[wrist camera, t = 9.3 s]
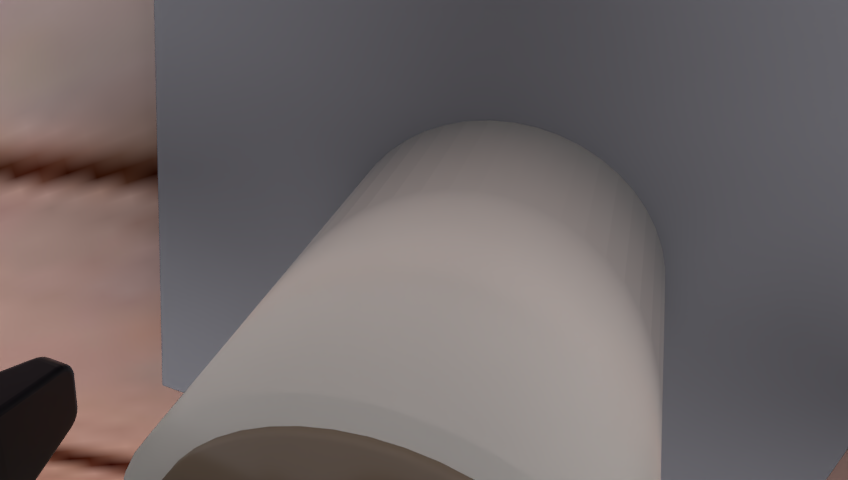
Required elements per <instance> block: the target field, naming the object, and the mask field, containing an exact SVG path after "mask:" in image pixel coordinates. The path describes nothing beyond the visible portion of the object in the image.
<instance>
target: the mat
mask: <svg viewBox="0 0 848 480" xmlns="http://www.w3.org/2000/svg"><path fill="white" fill-rule="evenodd" d="M154 19H155V64H156V110H157V155H158V200H159V246H160V291H161V337H162V382H163V385H164V386H167V387H169V388H172V389H175V390H178V391H181V392H183V393H184V392H185V391H186V390H187V389H188V388H189V386H190V385H191V384H192V383H193V382H194V381H195V379H196V378H197V377H198V376H199V375H200V373H201V372H202V371H203V370H204V369H205V367H206V366H207V365H208V364H209V363H210V361H211V360H212V359H213V358H214V357H215V355H216V354H217V353H218V352H219V351H220V349H221V348H222V347H223V346H224V345H225V344H226V342H227V341H228V340H229V339H230V338H231V336H232V335H233V334H234V333H235V332H236V330H237V329H238V328H239V327H240V326H241V324H242V323H243V322H244V321H245V320H246V318H247V317H248V316H249V315H250V314H251V312H252V311H253V310H254V309H255V308H256V306H257V305H258V304H259V303H260V302H261V301H262V299H263V298H264V297H265V296H266V295H267V293H268V292H269V291H270V290H271V289H272V287H273V286H274V285H275V284H276V283H277V281H278V280H279V279H280V278H281V277H282V275H283V274H284V273H285V272H286V271H287V269H288V268H289V267H290V266H291V265H292V264H293V262H294V261H295V260H296V259H297V258H298V256H299V255H300V254H301V253H302V252H303V250H304V249H305V248H306V247H307V246H308V244H309V243H310V242H311V241H312V240H313V238H314V237H315V236H316V235H317V234H318V232H319V231H320V230H321V229H322V228H323V226H324V225H325V224H326V223H327V222H328V221H329V219H330V218H331V217H332V216H333V215H334V213H335V212H336V211H337V210H338V209H339V207H340V206H341V205H342V204H343V203H344V201H345V200H346V199H347V198H348V197H349V195H350V194H351V193H352V192H353V191H354V189H355V188H356V187H357V186H358V185H359V183H360V182H361V181H362V180H363V179H364V178H365V176H366V175H367V174H368V173H369V172H370V170H371V169H372V168H373V167H374V166H375V164H376V163H377V162H379V161H380V160H381V159H382V158H383V157H384V156H385V155H386V154H387V153H388V152H390V151H391V150H392V149H394V148H395V147H397V146H398V145H400V144H401V143H403V142H404V141H406V140H408V139H410V138H412V137H414V136H416V135H418V134H420V133H422V132H425V131H428V130H431V129H434V128H437V127H440V126H444V125H448V124H454V123H460V122H466V121H486V120H492V121H503V122H514V123H518V124H523V125H528V126H532V127H537V128H540V129H543V130H545V131H548V132H551V133H554V134H557V135H560V136H562V137H564V138H566V139H568V140H570V141H572V142H574V143H576V144H578V145H580V146H582V147H583V148H585V149H586V150H588V151H589V152H591V153H592V154H594V155H596V156H597V157H599V158H600V159H601V160H603V161H604V162H605V163H606V164H607V165H608V166H610V167H611V168H612V169H613V170H614V171H615V172H617V173H618V174H619V175H620V176H621V177H622V178H623V180H624V181H625V182H626V183H627V184H628V185H629V186H630V187H631V189H632V190H633V191H634V192H635V193H636V195H637V196H638V198H639V199H640V201H641V202H642V204H643V205H644V207H645V208H646V210H647V212H648V214H649V216H650V218H651V220H652V222H653V224H654V226H655V228H656V231H657V234H658V237H659V240H660V243H661V247H662V250H663V257H664V264H665V316H664V360H663V404H662V449H661V480H826V479H827V478H828V476H829V475H830V473H831V472H832V470H833V469H834V468H835V466H836V465H837V463H838V462H839V460H840V459H841V458H842V456H843V455H844V453H845V452H846V450H847V449H848V0H154Z"/></svg>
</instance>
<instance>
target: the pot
mask: <svg viewBox="0 0 848 480" xmlns="http://www.w3.org/2000/svg"><path fill="white" fill-rule="evenodd" d="M664 316H665V264H664V257H663V250H662V247H661V243H660V240H659V237H658V234H657V231H656V228H655V226H654V224H653V222H652V220H651V218H650V216H649V214H648V212H647V210H646V208H645V207H644V205H643V204H642V202H641V201H640V199H639V198H638V196H637V195H636V193H635V192H634V191H633V190H632V189H631V187H630V186H629V185H628V184H627V183H626V182H625V181H624V180H623V178H622V177H621V176H620V175H619V174H618V173H617V172H615V171H614V170H613V169H612V168H611V167H610V166H608V165H607V164H606V163H605V162H604V161H603V160H601V159H600V158H599V157H597V156H596V155H594V154H592V153H591V152H589V151H588V150H586V149H585V148H583V147H582V146H580V145H578V144H576V143H574V142H572V141H570V140H568V139H566V138H564V137H562V136H560V135H557V134H554V133H551V132H548V131H545V130H543V129H540V128H537V127H532V126H528V125H523V124H518V123H514V122H503V121H492V120H486V121H466V122H460V123H454V124H448V125H444V126H440V127H437V128H434V129H431V130H428V131H425V132H422V133H420V134H418V135H416V136H414V137H412V138H410V139H408V140H406V141H404V142H403V143H401V144H400V145H398V146H397V147H395V148H394V149H392V150H391V151H390V152H388V153H387V154H386V155H385V156H384V157H383V158H382V159H381V160H380V161H379V162H377V163H376V164H375V166H374V167H373V168H372V169H371V170H370V172H369V173H368V174H367V175H366V176H365V178H364V179H363V180H362V181H361V182H360V183H359V185H358V186H357V187H356V188H355V189H354V191H353V192H352V193H351V194H350V195H349V197H348V198H347V199H346V200H345V201H344V203H343V204H342V205H341V206H340V207H339V209H338V210H337V211H336V212H335V213H334V215H333V216H332V217H331V218H330V219H329V221H328V222H327V223H326V224H325V225H324V226H323V228H322V229H321V230H320V231H319V232H318V234H317V235H316V236H315V237H314V238H313V240H312V241H311V242H310V243H309V244H308V246H307V247H306V248H305V249H304V250H303V252H302V253H301V254H300V255H299V256H298V258H297V259H296V260H295V261H294V262H293V264H292V265H291V266H290V267H289V268H288V269H287V271H286V272H285V273H284V274H283V275H282V277H281V278H280V279H279V280H278V281H277V283H276V284H275V285H274V286H273V287H272V289H271V290H270V291H269V292H268V293H267V295H266V296H265V297H264V298H263V299H262V301H261V302H260V303H259V304H258V305H257V306H256V308H255V309H254V310H253V311H252V312H251V314H250V315H249V316H248V317H247V318H246V320H245V321H244V322H243V323H242V324H241V326H240V327H239V328H238V329H237V330H236V332H235V333H234V334H233V335H232V336H231V338H230V339H229V340H228V341H227V342H226V344H225V345H224V346H223V347H222V348H221V349H220V351H219V352H218V353H217V354H216V355H215V357H214V358H213V359H212V360H211V361H210V363H209V364H208V365H207V366H206V367H205V369H204V370H203V371H202V372H201V373H200V375H199V376H198V377H197V378H196V379H195V381H194V382H193V383H192V384H191V385H190V386H189V388H188V389H187V390H186V391H185V392H184V394H183V395H182V396H181V397H180V398H179V400H178V401H177V402H176V403H175V404H174V406H173V407H172V408H171V409H170V410H169V412H168V413H167V414H166V415H165V416H164V418H163V419H162V420H161V421H160V422H159V424H158V425H157V426H156V427H155V428H154V429H153V431H152V432H151V433H150V434H149V435H148V437H147V438H146V439H145V440H144V442H143V443H142V444H141V446H140V447H139V448H138V449H137V451H136V452H135V453H134V455H133V457H132V459H131V462H130V464H129V466H128V468H127V470H126V472H125V476H124V480H661V449H662V404H663V360H664Z"/></svg>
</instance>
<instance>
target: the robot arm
mask: <svg viewBox="0 0 848 480" xmlns="http://www.w3.org/2000/svg"><path fill="white" fill-rule="evenodd" d="M76 415H77V399H76V390H75V380H74V373H73V370H72V368H71V367H70V366H69V365H67V364H64V363H62V362H59V361H56V360H53V359H51V358H47V357H38V358H35V359H32V360H29V361H27V362H24V363H21V364H19V365H16V366H14V367H11V368H8V369H6V370H3V371H1V372H0V480H36V478H37V477H38V475H39V474H40V473H41V471H42V470H43V468H44V467H45V465H46V464H47V462H48V461H49V459H50V458H51V456H52V455H53V453H54V452H55V451H56V449H57V448H58V446H59V445H60V443H61V442H62V440H63V439H64V437H65V436H66V434H67V433H68V431H69V430H70V428H71V427H72V425H73V423H74V421H75V418H76Z"/></svg>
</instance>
